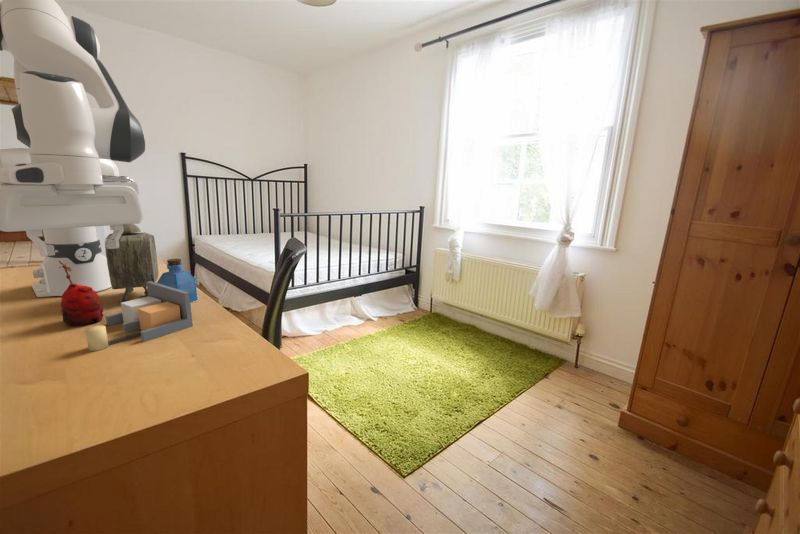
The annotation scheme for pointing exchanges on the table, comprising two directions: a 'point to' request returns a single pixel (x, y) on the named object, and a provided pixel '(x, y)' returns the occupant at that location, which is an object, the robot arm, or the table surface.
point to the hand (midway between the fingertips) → (82, 251)
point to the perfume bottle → (179, 278)
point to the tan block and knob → (147, 319)
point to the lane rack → (164, 295)
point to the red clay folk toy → (80, 303)
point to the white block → (136, 307)
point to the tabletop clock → (132, 260)
